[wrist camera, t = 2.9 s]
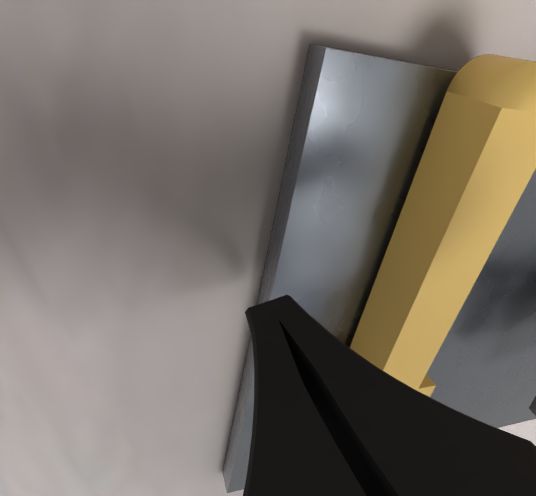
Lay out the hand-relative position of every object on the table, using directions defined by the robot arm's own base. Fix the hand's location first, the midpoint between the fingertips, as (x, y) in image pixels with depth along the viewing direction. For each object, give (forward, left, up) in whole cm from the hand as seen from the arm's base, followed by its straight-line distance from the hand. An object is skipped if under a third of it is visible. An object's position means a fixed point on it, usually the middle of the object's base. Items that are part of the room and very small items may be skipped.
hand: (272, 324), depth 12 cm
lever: (0, -6, -1) cm, 6 cm away
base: (-3, -12, -3) cm, 13 cm away
